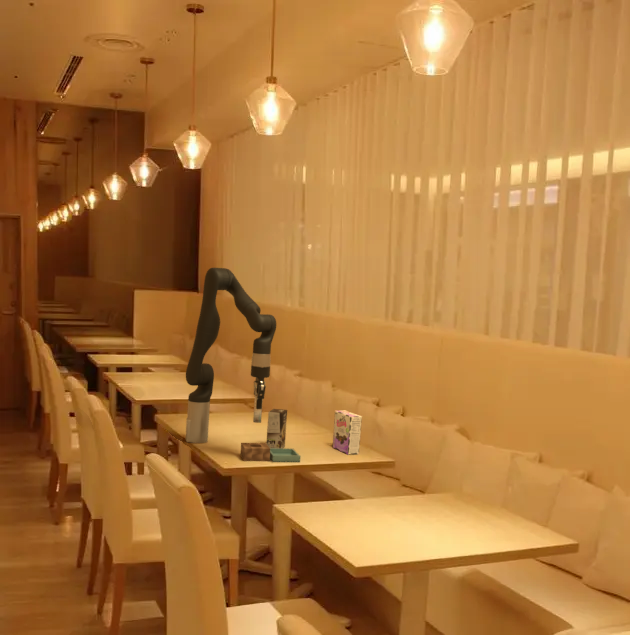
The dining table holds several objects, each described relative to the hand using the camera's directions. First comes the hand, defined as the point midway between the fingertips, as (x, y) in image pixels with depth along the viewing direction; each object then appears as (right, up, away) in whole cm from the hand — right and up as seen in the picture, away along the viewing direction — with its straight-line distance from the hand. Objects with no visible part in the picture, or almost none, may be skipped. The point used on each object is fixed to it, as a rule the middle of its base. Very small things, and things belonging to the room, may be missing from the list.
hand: (258, 407), depth 310 cm
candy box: (+36, -22, +25) cm, 49 cm away
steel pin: (0, -6, 0) cm, 6 cm away
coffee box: (+6, -20, +21) cm, 30 cm away
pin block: (-1, -20, +1) cm, 20 cm away
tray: (+10, -21, +4) cm, 23 cm away
